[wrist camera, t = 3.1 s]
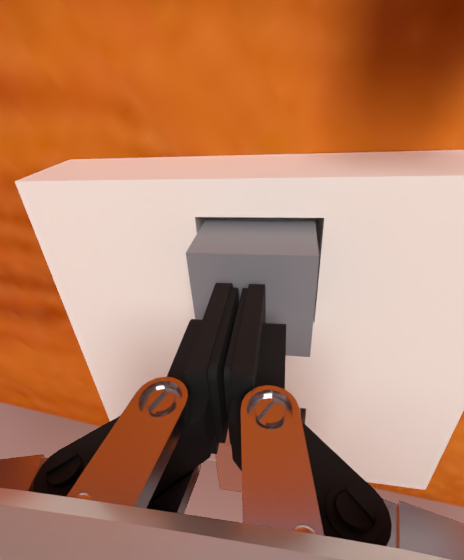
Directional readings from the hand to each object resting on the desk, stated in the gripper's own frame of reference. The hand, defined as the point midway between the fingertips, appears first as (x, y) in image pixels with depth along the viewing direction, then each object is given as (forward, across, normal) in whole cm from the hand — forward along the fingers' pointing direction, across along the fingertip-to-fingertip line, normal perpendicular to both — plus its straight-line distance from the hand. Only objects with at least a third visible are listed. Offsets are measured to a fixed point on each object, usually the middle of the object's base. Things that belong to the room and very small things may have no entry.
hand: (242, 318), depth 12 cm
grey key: (+4, 0, 0) cm, 4 cm away
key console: (+7, 0, +6) cm, 9 cm away
